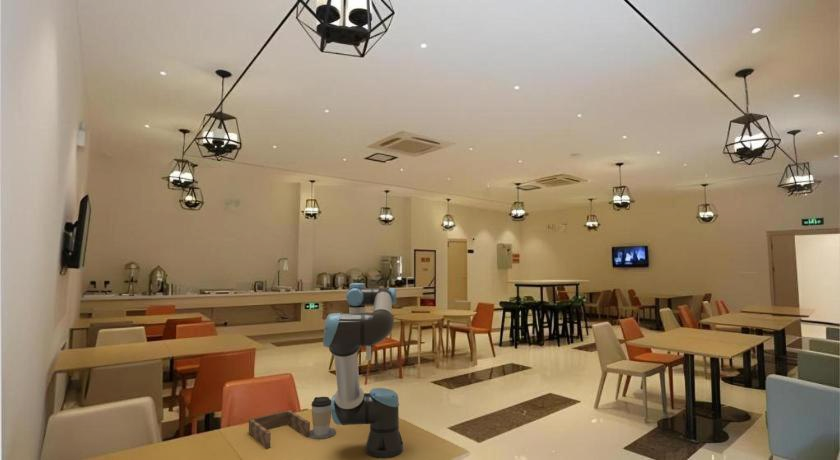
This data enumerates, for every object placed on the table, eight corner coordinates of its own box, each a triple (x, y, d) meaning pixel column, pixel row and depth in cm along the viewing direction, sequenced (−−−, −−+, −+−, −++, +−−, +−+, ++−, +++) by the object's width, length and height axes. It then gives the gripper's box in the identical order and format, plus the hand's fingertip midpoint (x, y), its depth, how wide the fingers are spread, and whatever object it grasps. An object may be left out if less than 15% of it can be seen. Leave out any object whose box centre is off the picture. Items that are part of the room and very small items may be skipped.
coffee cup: (335, 429, 192) (335, 395, 194) (326, 437, 184) (326, 401, 185) (316, 428, 194) (317, 394, 196) (307, 435, 186) (307, 400, 187)
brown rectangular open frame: (309, 436, 187) (309, 422, 187) (266, 448, 174) (267, 433, 175) (289, 422, 203) (289, 409, 203) (248, 433, 191) (248, 419, 191)
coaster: (340, 434, 189) (340, 432, 189) (316, 441, 181) (316, 440, 181) (327, 426, 198) (327, 425, 198) (303, 433, 190) (303, 431, 190)
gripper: (373, 313, 211) (373, 357, 209) (330, 317, 194) (329, 365, 192) (382, 314, 206) (382, 359, 204) (339, 319, 189) (339, 368, 187)
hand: (357, 362), depth 198 cm, fingers open, 13 cm apart
